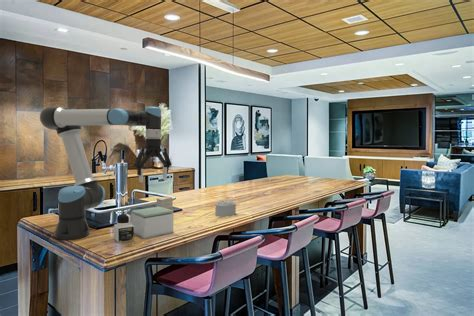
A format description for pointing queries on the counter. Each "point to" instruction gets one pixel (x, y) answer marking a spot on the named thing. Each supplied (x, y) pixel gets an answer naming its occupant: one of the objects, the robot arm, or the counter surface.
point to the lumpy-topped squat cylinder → (225, 208)
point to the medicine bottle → (123, 229)
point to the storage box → (152, 225)
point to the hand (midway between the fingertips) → (153, 180)
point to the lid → (151, 211)
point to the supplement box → (165, 202)
